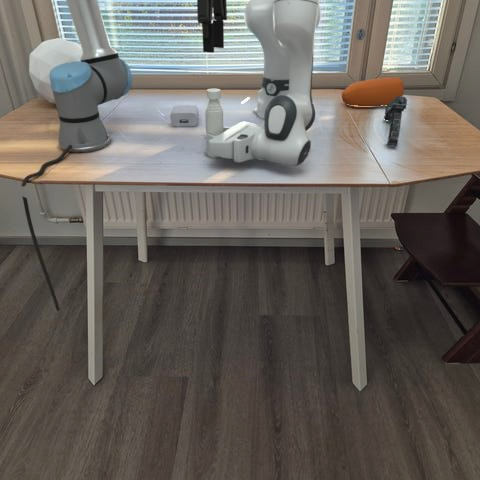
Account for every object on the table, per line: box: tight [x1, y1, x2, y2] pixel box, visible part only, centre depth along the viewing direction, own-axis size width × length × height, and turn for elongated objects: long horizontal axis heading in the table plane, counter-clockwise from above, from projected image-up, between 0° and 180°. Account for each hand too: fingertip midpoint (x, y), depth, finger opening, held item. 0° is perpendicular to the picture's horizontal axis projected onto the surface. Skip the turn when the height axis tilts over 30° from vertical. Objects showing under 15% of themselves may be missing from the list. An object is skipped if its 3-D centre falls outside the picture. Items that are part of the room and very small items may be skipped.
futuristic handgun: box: [383, 95, 408, 147], centre depth 138 cm, size 4×29×15 cm, turn 164°
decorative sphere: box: [28, 37, 83, 105], centre depth 157 cm, size 24×25×25 cm
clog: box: [341, 76, 405, 109], centre depth 165 cm, size 12×11×25 cm
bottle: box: [204, 99, 224, 159], centre depth 119 cm, size 5×5×19 cm
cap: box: [206, 87, 222, 100], centre depth 114 cm, size 4×4×2 cm
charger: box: [169, 105, 199, 127], centre depth 148 cm, size 5×9×15 cm
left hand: (213, 49), depth 107 cm, fingers open, 6 cm apart
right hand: (212, 133), depth 121 cm, fingers closed on bottle, 5 cm apart
